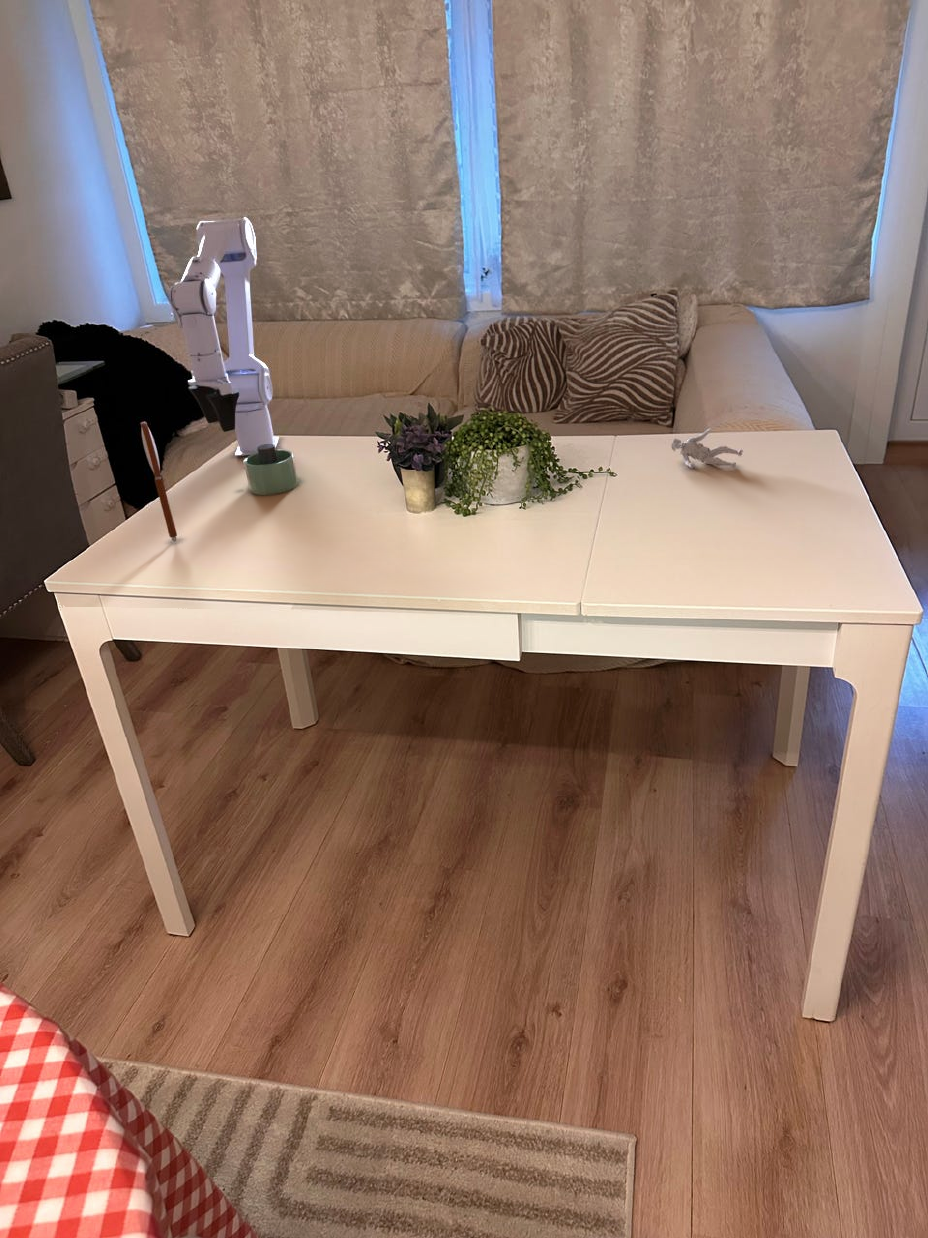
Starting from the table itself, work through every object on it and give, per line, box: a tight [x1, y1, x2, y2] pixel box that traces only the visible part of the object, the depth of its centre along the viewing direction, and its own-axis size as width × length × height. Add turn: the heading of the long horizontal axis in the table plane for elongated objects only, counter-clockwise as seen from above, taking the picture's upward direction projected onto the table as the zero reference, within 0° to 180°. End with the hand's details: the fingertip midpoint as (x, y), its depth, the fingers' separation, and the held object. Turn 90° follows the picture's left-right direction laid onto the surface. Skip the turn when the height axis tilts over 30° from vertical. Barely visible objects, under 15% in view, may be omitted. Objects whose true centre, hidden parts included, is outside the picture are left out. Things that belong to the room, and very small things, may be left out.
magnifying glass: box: [140, 421, 178, 542], centre depth 145 cm, size 9×2×20 cm, turn 22°
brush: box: [257, 444, 278, 465], centre depth 167 cm, size 3×3×7 cm
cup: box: [243, 449, 299, 496], centre depth 168 cm, size 9×9×6 cm
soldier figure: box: [670, 428, 744, 469], centre depth 159 cm, size 8×5×12 cm
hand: (221, 426), depth 169 cm, fingers open, 7 cm apart
